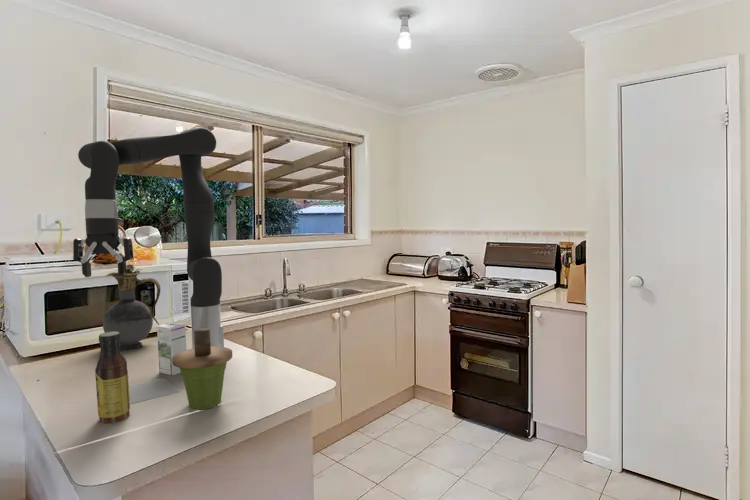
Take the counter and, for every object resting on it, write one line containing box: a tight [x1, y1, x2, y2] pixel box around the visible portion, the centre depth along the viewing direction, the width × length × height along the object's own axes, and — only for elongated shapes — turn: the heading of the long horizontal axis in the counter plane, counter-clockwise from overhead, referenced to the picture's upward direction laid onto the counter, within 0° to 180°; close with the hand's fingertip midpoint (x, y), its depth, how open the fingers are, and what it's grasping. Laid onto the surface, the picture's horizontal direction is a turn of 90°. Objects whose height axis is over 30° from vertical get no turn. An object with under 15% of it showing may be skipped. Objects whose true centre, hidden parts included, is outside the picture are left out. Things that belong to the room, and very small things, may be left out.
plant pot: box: [180, 362, 227, 411], centre depth 105 cm, size 12×12×11 cm
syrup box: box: [156, 322, 187, 376], centre depth 129 cm, size 6×6×14 cm
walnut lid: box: [172, 328, 233, 369], centre depth 105 cm, size 14×14×7 cm
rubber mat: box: [129, 377, 180, 405], centre depth 114 cm, size 14×14×1 cm
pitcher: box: [102, 263, 161, 351], centre depth 157 cm, size 11×19×30 cm, turn 132°
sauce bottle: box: [94, 331, 131, 424], centre depth 98 cm, size 6×6×20 cm
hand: (104, 276), depth 118 cm, fingers open, 8 cm apart
